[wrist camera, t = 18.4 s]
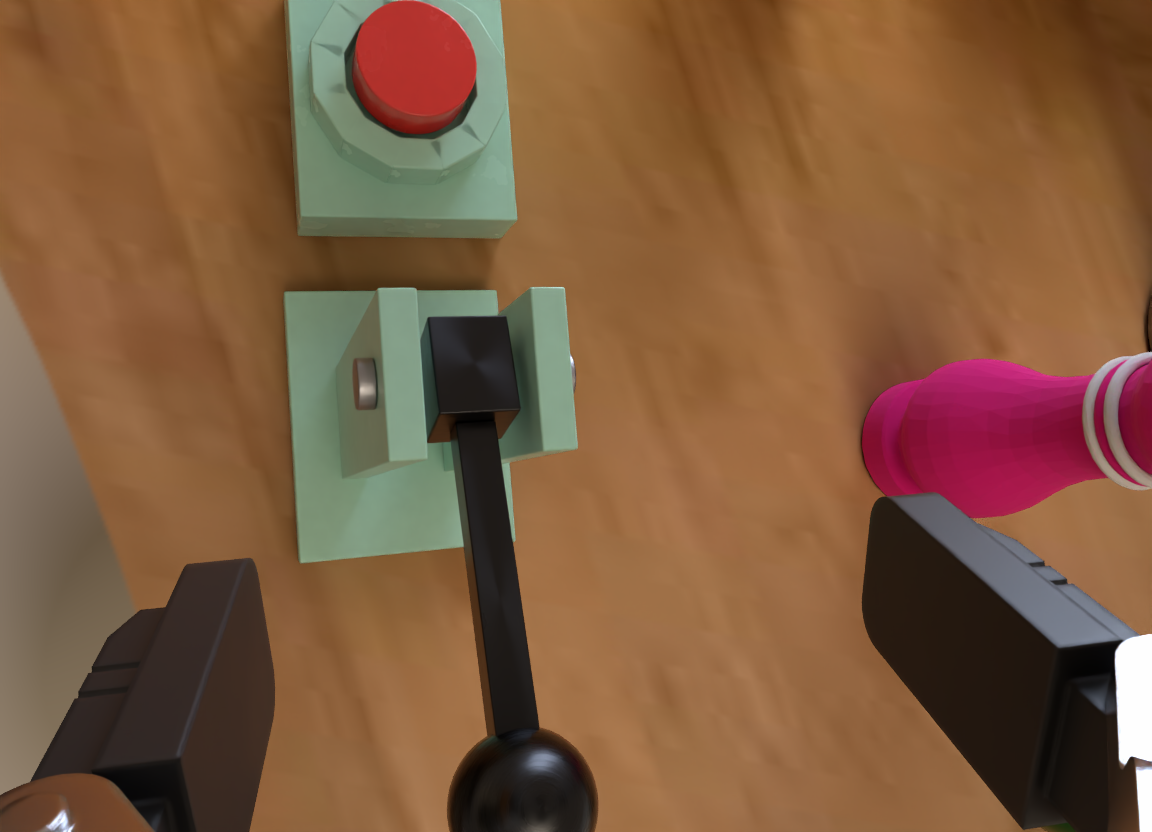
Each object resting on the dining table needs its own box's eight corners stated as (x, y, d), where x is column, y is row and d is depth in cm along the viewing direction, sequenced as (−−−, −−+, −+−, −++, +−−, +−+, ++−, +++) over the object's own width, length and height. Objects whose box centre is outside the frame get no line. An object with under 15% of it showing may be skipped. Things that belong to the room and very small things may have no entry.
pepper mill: (949, 539, 46) (1428, 559, 27) (833, 484, 44) (1262, 465, 25) (986, 408, 47) (1463, 342, 29) (875, 349, 46) (1309, 237, 27)
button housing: (501, 238, 40) (530, 206, 35) (297, 236, 37) (302, 200, 33) (484, 18, 40) (510, -40, 36) (283, -2, 38) (286, -67, 33)
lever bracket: (508, 540, 39) (649, 557, 25) (298, 562, 36) (322, 595, 22) (490, 295, 39) (616, 178, 25) (283, 297, 36) (297, 166, 23)
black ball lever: (583, 864, 23) (632, 878, 20) (445, 896, 22) (473, 916, 19) (507, 358, 28) (537, 303, 25) (388, 361, 27) (403, 305, 24)
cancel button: (471, 137, 35) (481, 119, 34) (355, 132, 34) (359, 112, 32) (462, 28, 36) (472, 5, 34) (347, 18, 34) (352, -7, 33)
